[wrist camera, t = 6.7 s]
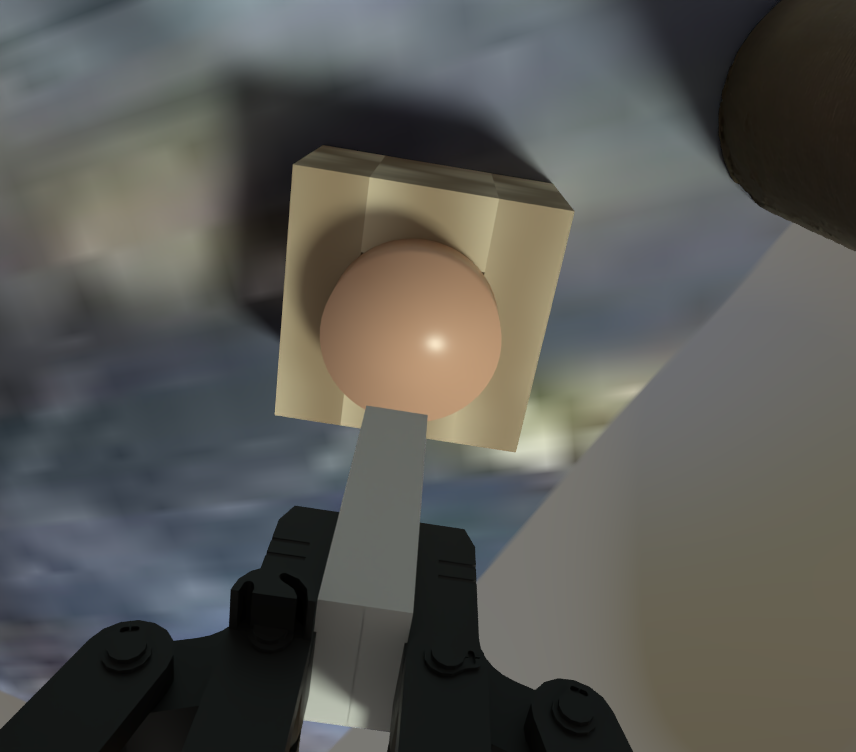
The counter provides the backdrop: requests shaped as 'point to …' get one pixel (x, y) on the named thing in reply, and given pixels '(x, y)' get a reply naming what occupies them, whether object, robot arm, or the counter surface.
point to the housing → (431, 220)
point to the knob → (411, 329)
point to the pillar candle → (797, 116)
